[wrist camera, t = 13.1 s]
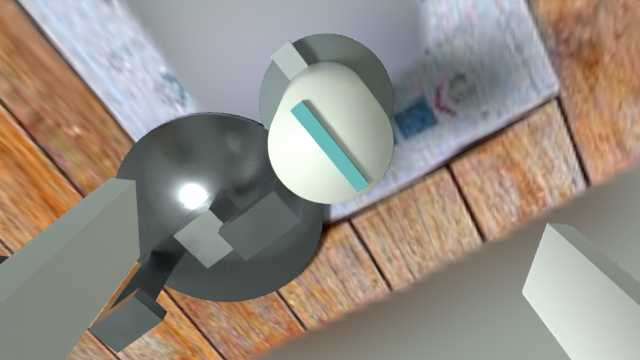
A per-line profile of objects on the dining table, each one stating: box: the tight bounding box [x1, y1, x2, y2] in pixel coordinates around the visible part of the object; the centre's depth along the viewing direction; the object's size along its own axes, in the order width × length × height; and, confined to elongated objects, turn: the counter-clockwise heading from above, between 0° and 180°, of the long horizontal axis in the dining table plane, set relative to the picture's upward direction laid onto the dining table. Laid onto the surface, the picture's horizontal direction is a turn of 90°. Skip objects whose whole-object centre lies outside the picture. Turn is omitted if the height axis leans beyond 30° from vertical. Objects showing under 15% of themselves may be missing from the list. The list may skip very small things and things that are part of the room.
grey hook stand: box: [89, 112, 323, 353], centre depth 33 cm, size 19×19×10 cm
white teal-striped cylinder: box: [268, 40, 394, 204], centre depth 28 cm, size 12×7×12 cm, turn 38°
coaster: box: [259, 34, 393, 131], centre depth 34 cm, size 11×11×1 cm
